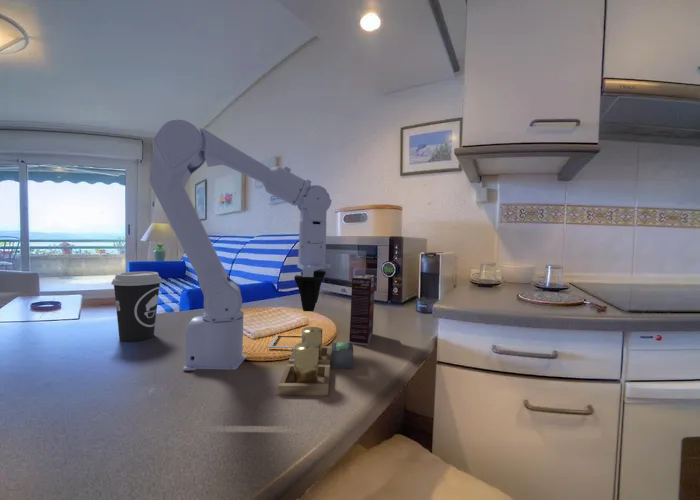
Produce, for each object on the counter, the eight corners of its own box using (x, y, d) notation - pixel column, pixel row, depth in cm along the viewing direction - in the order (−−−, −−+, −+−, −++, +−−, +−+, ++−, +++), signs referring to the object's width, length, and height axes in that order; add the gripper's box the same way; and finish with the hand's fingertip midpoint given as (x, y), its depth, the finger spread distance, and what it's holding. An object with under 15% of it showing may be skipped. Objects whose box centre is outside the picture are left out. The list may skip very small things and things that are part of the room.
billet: (290, 387, 46) (291, 350, 46) (297, 376, 50) (298, 341, 50) (314, 389, 45) (315, 352, 45) (320, 378, 49) (321, 343, 49)
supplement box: (369, 348, 66) (371, 278, 65) (348, 345, 67) (350, 277, 66) (373, 336, 74) (375, 274, 74) (355, 334, 75) (357, 273, 75)
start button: (335, 367, 54) (336, 346, 54) (335, 362, 56) (336, 342, 56) (348, 367, 54) (348, 346, 54) (347, 362, 56) (348, 342, 56)
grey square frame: (268, 352, 61) (268, 346, 61) (277, 337, 70) (277, 332, 70) (311, 353, 61) (311, 347, 61) (315, 338, 71) (315, 333, 70)
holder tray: (276, 399, 43) (276, 386, 43) (294, 354, 60) (294, 345, 60) (329, 400, 44) (329, 387, 44) (332, 355, 61) (332, 346, 61)
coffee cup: (152, 328, 74) (152, 270, 74) (168, 336, 68) (169, 274, 68) (104, 337, 66) (105, 273, 66) (118, 347, 61) (119, 277, 60)
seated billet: (299, 364, 54) (300, 332, 54) (302, 355, 58) (303, 326, 58) (320, 364, 55) (321, 333, 54) (322, 356, 59) (323, 327, 58)
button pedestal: (331, 371, 53) (331, 350, 53) (331, 362, 57) (332, 342, 57) (352, 371, 53) (353, 350, 53) (351, 362, 57) (352, 343, 57)
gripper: (330, 244, 54) (327, 315, 55) (332, 243, 69) (330, 300, 69) (292, 243, 54) (290, 314, 54) (302, 242, 68) (300, 299, 69)
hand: (310, 306), depth 62 cm, fingers open, 7 cm apart
